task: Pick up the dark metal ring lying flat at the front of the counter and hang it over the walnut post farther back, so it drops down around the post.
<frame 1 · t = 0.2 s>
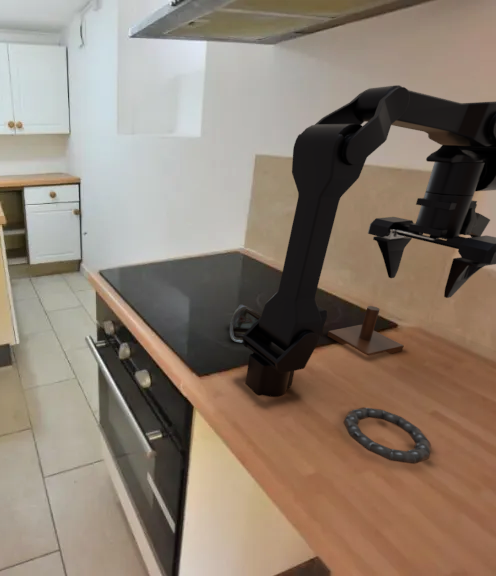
hand: (417, 286, 64), 14 cm above the worktop, tool pointing down, fingers open, 9 cm apart
post: (363, 343, 75), on the worktop
ring: (385, 433, 52), point 1 cm above the worktop
grey curved frame: (254, 334, 79), on the worktop
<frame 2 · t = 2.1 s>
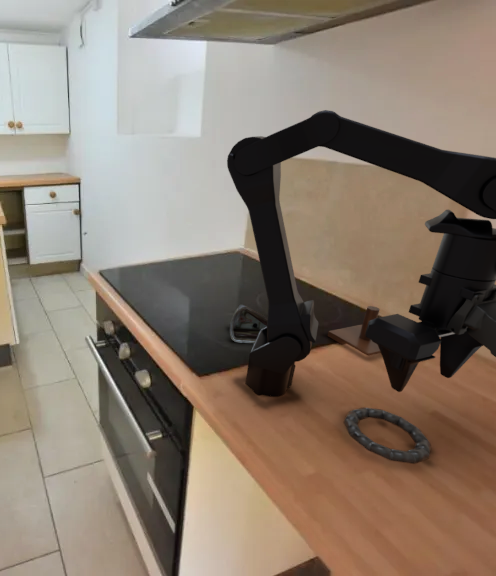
hand: (421, 382, 50), 8 cm above the worktop, tool pointing down, fingers open, 9 cm apart
nothing on the worktop moved.
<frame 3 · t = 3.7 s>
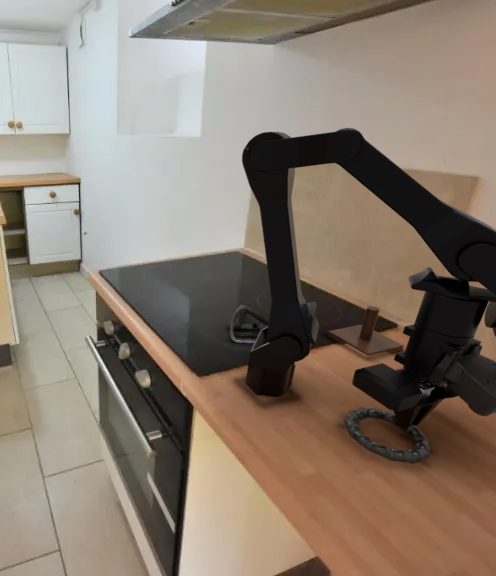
hand: (407, 425, 53), 1 cm above the worktop, tool pointing down, fingers closed on ring, 1 cm apart
ring: (385, 433, 52), point 1 cm above the worktop, touching gripper
everything else where it was.
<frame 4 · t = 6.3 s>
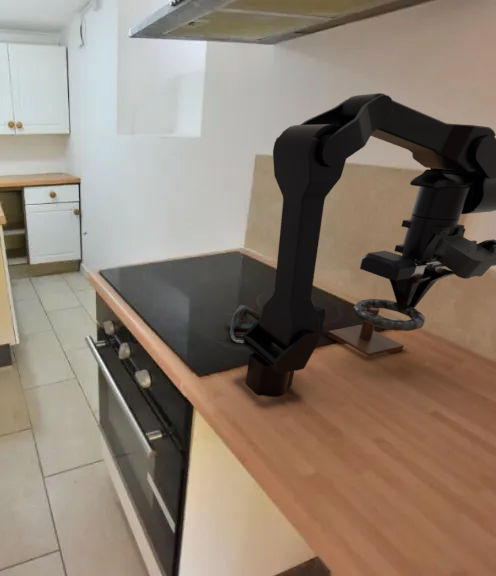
hand: (405, 308, 64), 11 cm above the worktop, tool pointing down, fingers closed on ring
ring: (387, 313, 63), point 11 cm above the worktop, touching gripper
everything else where it was.
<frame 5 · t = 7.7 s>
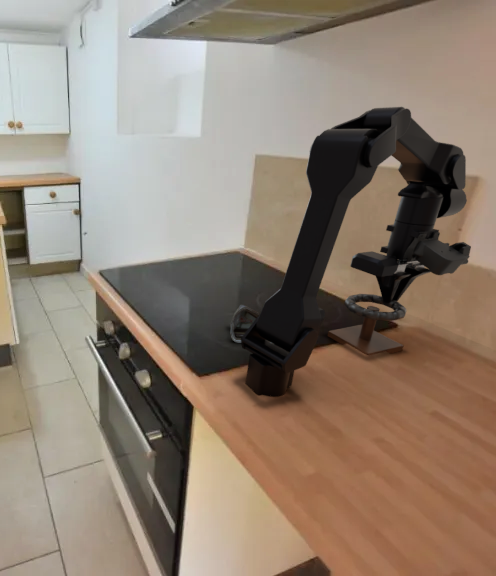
hand: (389, 301, 73), 8 cm above the worktop, tool pointing down, fingers closed on ring
ring: (374, 306, 72), point 8 cm above the worktop, touching gripper
everything else where it was.
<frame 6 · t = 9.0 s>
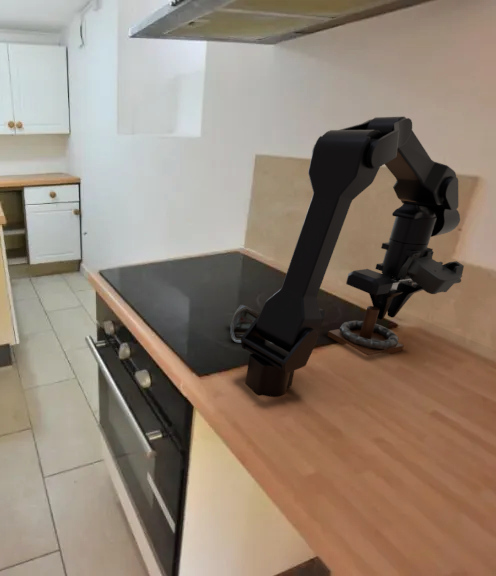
hand: (385, 317, 74), 5 cm above the worktop, tool pointing down, fingers open, 3 cm apart
ring: (368, 334, 74), point 2 cm above the worktop, touching post
everything else where it was.
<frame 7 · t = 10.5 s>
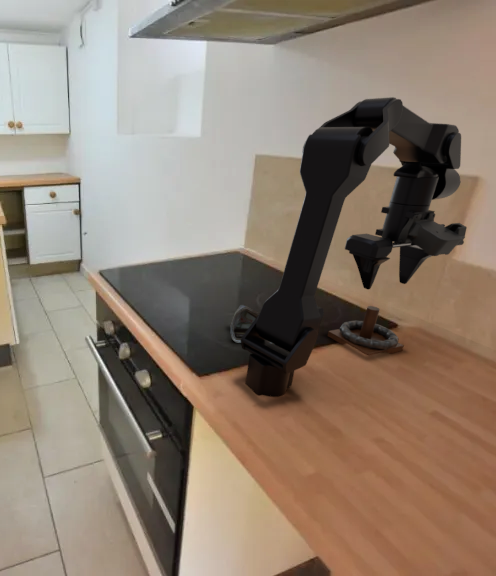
hand: (385, 285, 72), 12 cm above the worktop, tool pointing down, fingers open, 9 cm apart
nothing on the worktop moved.
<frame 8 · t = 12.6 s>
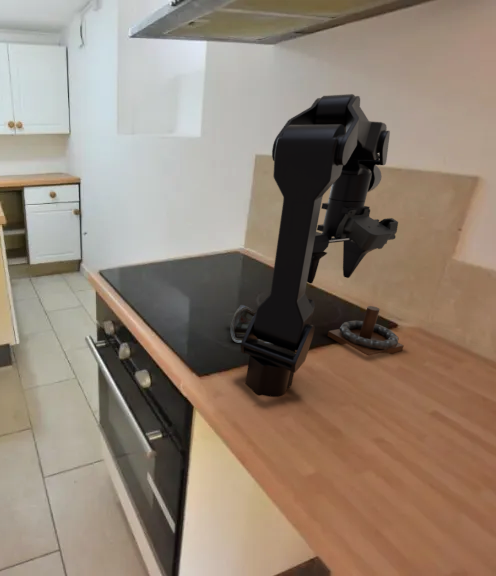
hand: (328, 280, 74), 12 cm above the worktop, tool pointing down, fingers open, 9 cm apart
nothing on the worktop moved.
at the end: ring 0.5 cm from the post (horizontally); ring point 2.0 cm above the worktop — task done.
